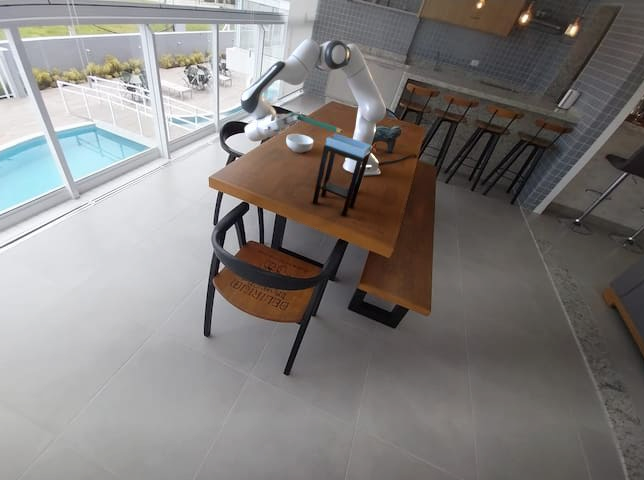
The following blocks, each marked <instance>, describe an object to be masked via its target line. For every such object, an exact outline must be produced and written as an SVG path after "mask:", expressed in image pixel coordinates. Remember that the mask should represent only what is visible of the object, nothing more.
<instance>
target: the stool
mask: <svg viewBox="0 0 644 480" xmlns="http://www.w3.org/2000/svg"><path fill="white" fill-rule="evenodd" d="M370 153H371V152H370ZM370 153H368V154H367V155H366V156H365V157H364V158H362V157H359V156H356V155H354V154H351V153H348V152H345V151H342V150H339V149H336V148H333V147H331V146H328V145H326V144H325V145H324V146H323V149H322V154H321V159H320V164H319V169H318V174H317V179H316V183H315V187H314V188H315V189H314V193H313V200H312V204H314V205H317V204H318V203H319V198H320V197H323V198H325V197H326V196H327V192H328V193H331V194H333V195H336V196H338V197H340V198H343V199H345V201H344V205H343V208H342V212H341V216H343V217H346V216H347V215H348V211H349V208H350V209H353V208H354V207H355V205H356V201H357V198H358V195H359V193H358V192H360V189H361V186H362V183H361V182H363V180H362V179H364V176H363V175H364V172H365V169H366V166H367V162H368V159H369V156H370ZM336 155H339V156H341V157H344V158H349V159H352V160H355V161H357V162H356V166H355V169H354V173H352V176H351V179H352V180H351V179H350V183H349V186H350V187H349V186H348V188H346V187H345V186H341V185H339V184H336V183H333V182H331V181H330V180H331V174H332V170H333V166H334V162H335V158H336ZM328 156H329V157H328ZM327 160H328V161H327ZM362 161H363V162H362ZM326 164H327V165H326ZM361 164H362V165H361ZM326 166H327V167H326ZM325 169H326V171H325ZM359 171H360V172H359ZM358 174H359V175H358ZM324 175H325V176H324ZM356 181H357V182H356ZM322 183H323V185H322ZM360 185H361V186H360ZM354 188H355V189H354ZM359 188H360V189H359ZM320 193H321V194H320Z"/></svg>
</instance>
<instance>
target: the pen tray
mask: <svg viewBox="0 0 644 480" xmlns="http://www.w3.org/2000/svg"><path fill="white" fill-rule="evenodd" d="M325 140H326V141H325V145H328V146H331V147H333V148H336V149H339V150H342V151H345V152H348V153H351V154H354V155H356V156H359V157H362V158H364V157H365V156H366V155H367V154H368V153H370V150H371V146H372V147H373V145H369V144H366V143H363V142H360V141H357V140H354V139H353V138H351V137H348V136H345V135H342V134H339V133H337V132H334V133H333V138H332V137H329V136H327V137H326V139H325Z"/></svg>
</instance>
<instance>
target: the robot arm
mask: <svg viewBox="0 0 644 480" xmlns="http://www.w3.org/2000/svg"><path fill="white" fill-rule="evenodd" d="M315 68H317V69H318V70H319V71H327V72H328V71H329V72H330V71H333V70H339V69H340V70H341V71H342V73H343V75H344V78H345V80H346V82H347V84H348V87H349V89H350V90H351V93H352V95H353V97H354V99H355V101H356V103H357V105H358V108H357V113H356V120H355V121H356V122H355V127H354V132H353V136H352V139H354V140H357V141H360V142H363V143H366V144H369V145H372V141H373V138H374V135H375V128H376V127H377V126H376V125H377V123H378V124H379V123H380V122H381V121H383V120H384V118H385V116H386V115H387V107H386V104H385V101H384V99H383V96H382V95H381V93H380V91H379V89H378V87H377V84H376V82H375V80H374V77H373V76H372V73H371V71H370V68H369V66H368V64H367V61H366V59H365V57H364V55H363V53H362V52H361V50H360V48H359V47H358V45H356V44H355V43H348V44H345V43H344V42H343V41H341V40H338V39H333V40H327V41H325V42H323V43H321V44H320V43H319V44H318V43H317V41H316V40H315V39H312V38H306V39H305V40H303V41H302V42H301V43H300V44H299V45H298V46H297V47H296V48H295V49H294V50H293V52H292V53H291V55H290V56H288V58H287V59H286V60H284V61H282V60H279V61H277V62H275V63H274V64H273V65H272V66H270V67H269V68H268V69H267V70H266V71H265V72H264V74H263V75H261V76H260V77H259V78H258V79H257V80H256V81H255V82H254V83H253V84H252V85H250V86H249V87H248V88H247V89H246V90H244V91H243V93H242V94H241V96H240V106H241V109H242V110H244V111H245V112H246V113H247V114H249V115H250V116H251V117H252V118H253V119H252V121H251V122H249V123H248V124H246V125H245V126H244V133H245V135H246V137H247V138H248V140H250V141H251V142H260V141H264V140H266V139H268V138H273V137H277V136H280V135H281V134H283V132H285V130H287V129H289V128H290V126H292V125H294V124H297V123H299V122H300V120H298V119H299V118H298V115H295V116H292V117H290V115H291V113H296V114H299V115H302V116H304V115H303V113H302V112H301V111H294V112H289V113H277V110H276V109H275V108H274V107H273V105H271V104H270V102H269V101H268V100H267V99H266V98H265V97H264V96H263V94H264V93H265V92H266V91H267V90H268V89H269V88H270V87H271V86H272V85H273V84H274V82H276V81H282V82H284V83H287V84H288V85H292V86H299V85H301V84H303V83H304V82H305V81H306V80H307V78H308V77H309V76H310V74H311V73H312V71H313V70H314V69H315ZM370 152H371V153H370V156H369V159H368V162H367V166H366V169H365V173H364V176H379V175H381V170H380V168H379V165H383V164H391V163H395V162H398V161H401V160H404V159H406V158H411V157H415V158H417V157H418V155H417V154H415V153H413V154H408V155H404V156H402V157H399V158H397V159H393V160H388V161H382V162H379V161H378V159H377V158H376V156H375V155H374V154H376V152H377V150H376V148H374V146H373V145H372V146H371V150H370ZM356 162H357V161H355V160H352V159H349V158H347V157H345V160H344V162H343V164H342V168H343V169H344V170H345V171H347V172H349V173H352V174H353V172H354V169H355V166H356ZM362 162H363V161H362ZM361 165H362V164H361ZM364 176H363V177H364Z"/></svg>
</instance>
